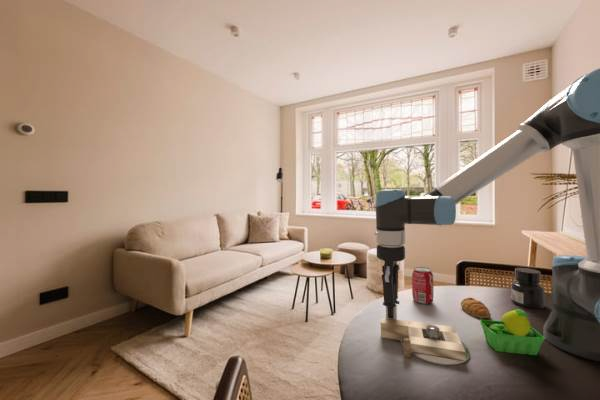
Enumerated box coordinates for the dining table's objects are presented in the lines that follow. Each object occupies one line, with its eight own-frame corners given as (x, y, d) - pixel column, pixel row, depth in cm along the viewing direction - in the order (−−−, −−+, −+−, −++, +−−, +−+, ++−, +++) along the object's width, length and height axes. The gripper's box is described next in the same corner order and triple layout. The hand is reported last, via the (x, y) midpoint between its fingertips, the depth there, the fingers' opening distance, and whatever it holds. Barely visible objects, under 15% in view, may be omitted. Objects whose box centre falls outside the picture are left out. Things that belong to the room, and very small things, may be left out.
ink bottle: (509, 296, 99) (509, 265, 98) (541, 301, 94) (541, 268, 94) (513, 306, 91) (513, 272, 90) (547, 312, 86) (547, 276, 85)
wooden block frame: (453, 334, 72) (453, 319, 72) (465, 360, 61) (465, 343, 61) (381, 323, 78) (381, 310, 78) (380, 346, 67) (380, 330, 67)
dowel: (411, 356, 64) (411, 340, 64) (408, 358, 63) (408, 342, 63) (405, 353, 65) (405, 337, 65) (402, 355, 64) (402, 339, 64)
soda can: (429, 297, 99) (428, 266, 99) (436, 305, 92) (436, 272, 92) (409, 297, 100) (409, 266, 100) (416, 305, 93) (415, 271, 93)
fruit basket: (526, 341, 70) (526, 299, 69) (550, 362, 61) (551, 314, 61) (478, 337, 72) (478, 296, 72) (495, 357, 63) (495, 311, 63)
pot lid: (478, 346, 68) (478, 328, 67) (455, 375, 57) (455, 354, 57) (416, 323, 80) (416, 309, 80) (388, 344, 69) (388, 327, 69)
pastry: (497, 320, 81) (497, 308, 81) (475, 320, 82) (475, 308, 82) (477, 307, 91) (477, 296, 91) (458, 307, 91) (457, 296, 91)
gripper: (381, 239, 81) (382, 314, 81) (371, 248, 69) (372, 335, 70) (407, 241, 77) (408, 320, 78) (401, 250, 66) (402, 342, 66)
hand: (391, 327), depth 74 cm, fingers closed
